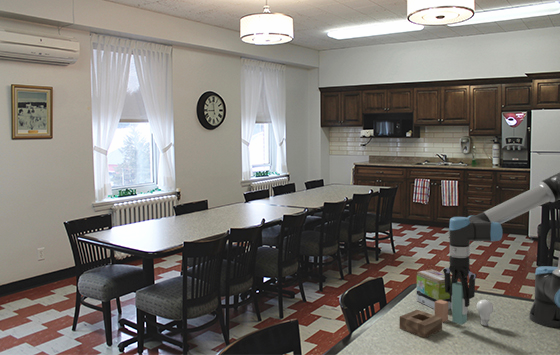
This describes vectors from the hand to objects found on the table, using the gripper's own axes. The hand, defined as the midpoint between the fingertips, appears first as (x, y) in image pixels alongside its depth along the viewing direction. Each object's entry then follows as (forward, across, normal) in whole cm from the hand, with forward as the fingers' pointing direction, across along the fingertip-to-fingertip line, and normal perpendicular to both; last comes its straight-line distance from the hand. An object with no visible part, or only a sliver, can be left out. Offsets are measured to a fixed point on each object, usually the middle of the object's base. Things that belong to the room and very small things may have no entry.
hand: (459, 312), depth 187 cm
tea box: (+8, -22, +18) cm, 29 cm away
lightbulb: (+8, +4, +12) cm, 15 cm away
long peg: (+4, 0, 0) cm, 4 cm away
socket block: (+7, -10, -12) cm, 17 cm away
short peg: (+7, -10, +4) cm, 13 cm away
